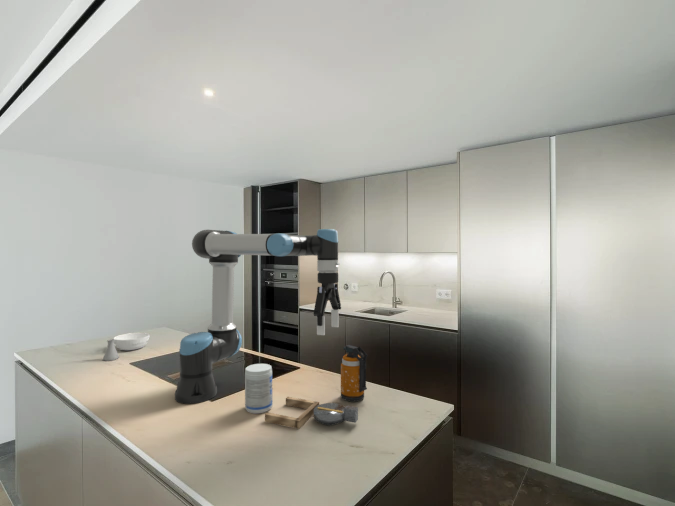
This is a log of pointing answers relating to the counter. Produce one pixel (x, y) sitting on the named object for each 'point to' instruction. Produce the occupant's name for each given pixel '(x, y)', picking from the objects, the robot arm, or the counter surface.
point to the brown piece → (291, 420)
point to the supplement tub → (258, 388)
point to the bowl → (131, 341)
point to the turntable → (335, 413)
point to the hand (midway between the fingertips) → (328, 330)
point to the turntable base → (329, 424)
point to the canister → (353, 374)
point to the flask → (110, 351)
